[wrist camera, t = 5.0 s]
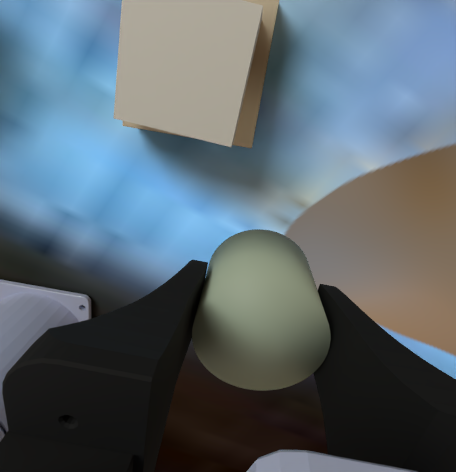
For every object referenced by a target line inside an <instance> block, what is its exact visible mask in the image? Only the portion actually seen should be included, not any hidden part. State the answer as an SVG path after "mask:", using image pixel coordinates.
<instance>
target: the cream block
mask: <svg viewBox="0 0 456 472" xmlns="http://www.w3.org/2000/svg"><path fill="white" fill-rule="evenodd" d="M262 12H263V5H259V4H255V3H251V2H247V1H243V0H122V9H121V23H120V37H119V51H118V65H117V79H116V93H115V107H114V118H115V119H119V120H123V121H127V122H131V123H135V124H139V125H143V126H147V127H151V128H155V129H159V130H163V131H167V132H171V133H175V134H179V135H183V136H188V137H192V138H196V139H200V140H204V141H208V142H212V143H216V144H220V145H224V146H228V147H231V146H232V144H233V142H234V139H235V135H236V131H237V126H238V122H239V117H240V113H241V109H242V104H243V100H244V95H245V91H246V87H247V82H248V78H249V74H250V69H251V65H252V60H253V56H254V52H255V47H256V43H257V39H258V34H259V30H260V25H261V21H262Z"/></svg>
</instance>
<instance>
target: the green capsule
mask: <svg viewBox="0 0 456 472" xmlns="http://www.w3.org/2000/svg"><path fill="white" fill-rule="evenodd" d="M192 341H193V346H194V349H195V352H196V354H197V356H198V358H199V359H200V361H201V362H202V364H203V365H204V366H205V367H206V368H207V369H208V370H209V371H210V372H211V373H212V374H214V375H215V376H216V377H218V378H219V379H221V380H223V381H225V382H227V383H229V384H231V385H234V386H237V387H240V388H245V389H250V390H275V389H281V388H285V387H289V386H291V385H294V384H297V383H299V382H301V381H303V380H304V379H306V378H307V377H309V376H310V375H311V374H313V373H314V372H315V371H316V370H317V369H318V368H319V367H320V365H321V364H322V363H323V361H324V360H325V358H326V356H327V353H328V350H329V347H330V341H331V334H330V327H329V323H328V320H327V317H326V314H325V311H324V308H323V305H322V302H321V299H320V296H319V294H318V291H317V288H316V285H315V282H314V279H313V276H312V273H311V270H310V267H309V264H308V261H307V258H306V257H305V254H304V253H303V251H302V250H301V249H300V247H299V246H298V245H297V244H296V243H295V242H293V241H292V240H291V239H289V238H288V237H286V236H284V235H282V234H280V233H277V232H273V231H269V230H248V231H244V232H240V233H238V234H235V235H233V236H231V237H230V238H228V239H227V240H225V241H224V242H223V243H222V244H221V245H220V246H219V247H218V248H217V249H216V250H215V252H214V254H213V255H212V258H211V260H210V263H209V267H208V270H207V274H206V278H205V282H204V286H203V289H202V293H201V297H200V301H199V305H198V308H197V312H196V316H195V320H194V324H193V328H192Z"/></svg>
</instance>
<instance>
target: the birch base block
mask: <svg viewBox="0 0 456 472" xmlns="http://www.w3.org/2000/svg"><path fill="white" fill-rule="evenodd" d="M243 1H247V2H251V3H255V4H259V5H263V12H262V21H261V25H260V30H259V34H258V39H257V43H256V47H255V52H254V56H253V60H252V65H251V69H250V74H249V78H248V82H247V87H246V91H245V95H244V100H243V104H242V109H241V113H240V117H239V122H238V126H237V131H236V135H235V139H234V142H233V144H232V145H236V146H241V147H247V148H252V144H253V139H254V133H255V128H256V122H257V117H258V112H259V106H260V101H261V95H262V90H263V85H264V79H265V74H266V68H267V63H268V58H269V52H270V47H271V42H272V36H273V31H274V25H275V20H276V15H277V9H278V4H279V0H243ZM123 126H127V127H133V128H138V129H144V130H150V131H156V132H161V133H167V134H173V135H178V136H183V135H179V134H175V133H171V132H167V131H163V130H159V129H155V128H151V127H147V126H143V125H139V124H135V123H131V122H127V121H123ZM184 137H188V136H184ZM190 138H192V137H190Z"/></svg>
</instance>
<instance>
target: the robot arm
mask: <svg viewBox="0 0 456 472" xmlns="http://www.w3.org/2000/svg"><path fill="white" fill-rule="evenodd" d="M207 264H208V263H207V262H202V261H197V260H191V261H190V262H189V263H188V264H187V265H186V266H184V267H183V268H182V269H181V270H180V271H179V272H178V273H177V274H176V275H174V276H173V277H172V278H171V279H169V280H168V281H167V282H166V283H164V284H163V285H161V286H160V287H158V288H157V289H156V290H154V291H153V292H151V293H150V294H148V295H146V296H145V297H143V298H141V299H139V300H137V301H135V302H133V303H131V304H129V305H127V306H124V307H122V308H120V309H117V310H115V311H112V312H110V313H107V314H104V315H101V316H98V317H95V318H91V299H90V298H89V297H88V296H87V295H84V294H79V293H73V292H68V291H62V290H56V289H51V288H45V287H40V286H34V285H28V284H23V283H17V282H11V281H6V280H0V472H154V469H155V465H156V461H157V457H158V453H159V449H160V445H161V440H162V436H163V432H164V428H165V424H166V420H167V416H168V412H169V408H170V404H171V400H172V396H173V392H174V388H175V384H176V381H177V378H178V375H179V372H180V369H181V366H182V364H183V361H184V358H185V355H186V352H187V350H188V347H189V344H190V341H191V338H192V328H193V324H194V320H195V316H196V312H197V308H198V305H199V301H200V297H201V293H202V289H203V286H204V282H205V276H206V270H207ZM318 294H319V296H320V299H321V302H322V305H323V308H324V311H325V314H326V317H327V320H328V323H329V327H330V334H331V341H330V347H329V350H328V353H327V356H326V358H325V360H324V361H323V363H322V364H321V365H320V367H319V368H318V369H317V370H316V371H315V372H314V376H315V380H316V384H317V389H318V393H319V397H320V401H321V406H322V411H323V417H324V424H325V432H326V439H327V448H328V454H322V453H317V452H312V451H306V450H279V451H276V452H273V453H270V454H268V455H265V456H262V457H260V458H258V459H257V460H256V461H255V462H254V464H253V465H252V466H251V467H250V468H249V470H248V471H247V472H456V379H454V378H452V377H450V376H449V375H447V374H446V373H444V372H442V371H441V370H439V369H437V368H436V367H434V366H433V365H431V364H429V363H428V362H426V361H425V360H423V359H422V358H420V357H419V356H417V355H416V354H415V353H413V352H412V351H411V350H409V349H408V348H406V347H405V346H404V345H402V344H401V343H400V342H398V341H397V340H396V339H394V338H393V337H392V336H391V335H389V334H388V333H387V332H386V331H385V330H383V329H382V328H381V327H380V326H379V325H378V324H376V323H375V322H374V321H373V320H372V319H371V318H370V317H368V316H367V315H366V314H365V313H364V312H363V311H362V310H361V309H360V308H359V307H358V306H356V304H354V303H353V302H352V301H351V300H350V299H349V298H348V297H347V296H346V295H345V294H344V293H342V292H341V291H340V290H339V289H338V288H336V287H334V286H329V285H323V284H320V286H319V289H318ZM82 305H83V306H85V308H84V307H83V306H82Z"/></svg>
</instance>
